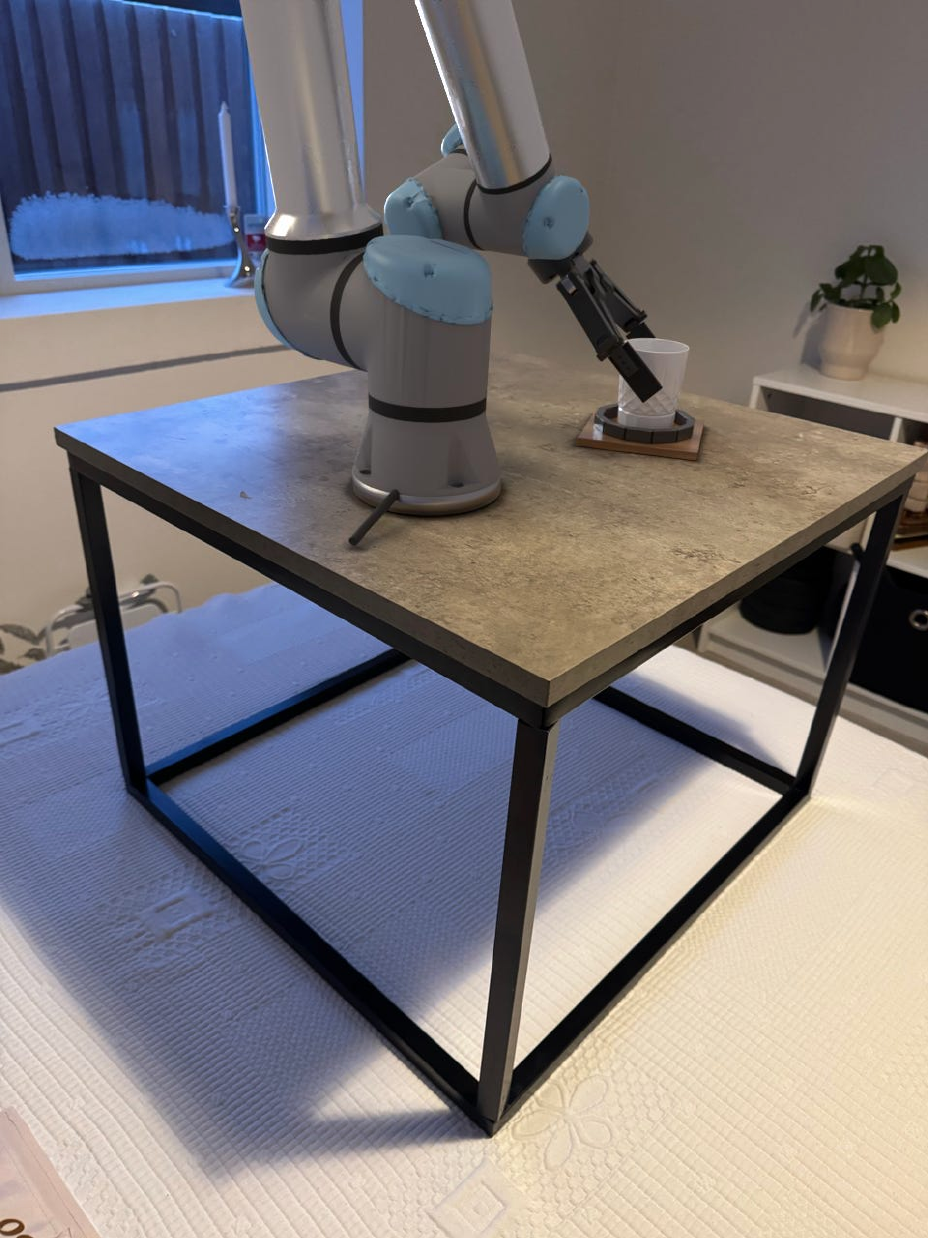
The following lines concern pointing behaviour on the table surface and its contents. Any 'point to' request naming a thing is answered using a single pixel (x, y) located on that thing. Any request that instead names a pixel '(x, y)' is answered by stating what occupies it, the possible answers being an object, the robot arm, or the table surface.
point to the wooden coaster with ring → (643, 435)
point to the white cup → (669, 371)
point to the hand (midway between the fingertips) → (659, 382)
